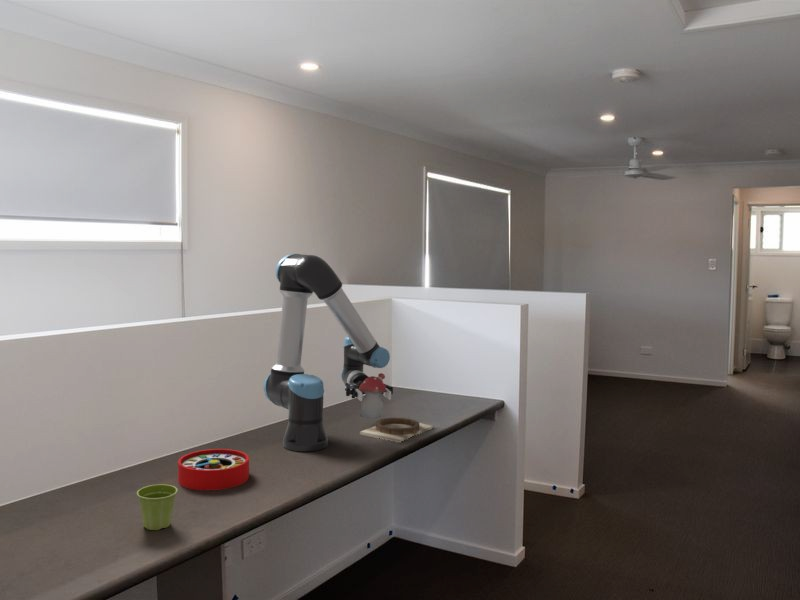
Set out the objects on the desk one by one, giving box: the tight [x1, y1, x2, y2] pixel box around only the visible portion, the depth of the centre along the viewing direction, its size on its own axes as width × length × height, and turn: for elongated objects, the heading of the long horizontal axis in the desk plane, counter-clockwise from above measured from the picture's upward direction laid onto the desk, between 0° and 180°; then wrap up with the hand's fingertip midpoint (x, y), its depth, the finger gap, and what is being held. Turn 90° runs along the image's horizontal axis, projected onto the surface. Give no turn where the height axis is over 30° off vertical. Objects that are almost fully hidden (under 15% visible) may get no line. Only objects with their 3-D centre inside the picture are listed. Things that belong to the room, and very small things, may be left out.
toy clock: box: [177, 448, 250, 491], centre depth 205 cm, size 20×6×20 cm
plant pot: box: [136, 483, 179, 531], centre depth 170 cm, size 9×9×9 cm
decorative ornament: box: [359, 373, 386, 419], centre depth 239 cm, size 9×6×15 cm
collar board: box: [359, 417, 434, 443], centre depth 259 cm, size 24×17×3 cm
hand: (375, 396), depth 235 cm, fingers closed on decorative ornament, 9 cm apart
